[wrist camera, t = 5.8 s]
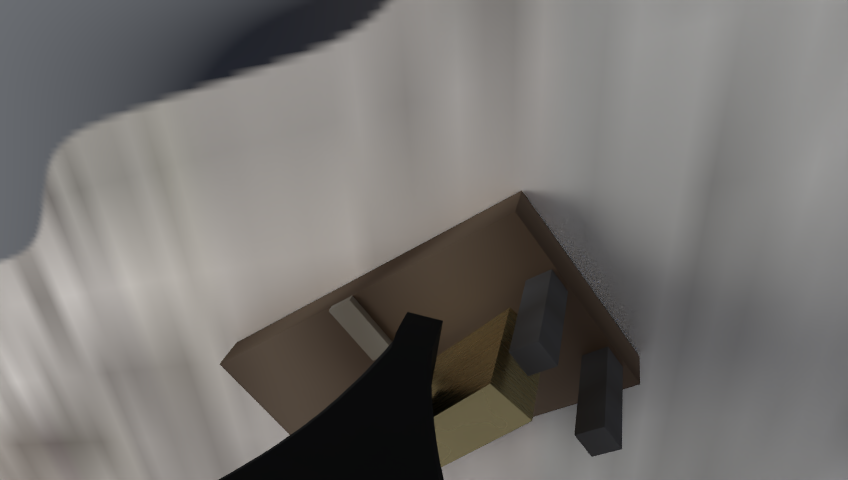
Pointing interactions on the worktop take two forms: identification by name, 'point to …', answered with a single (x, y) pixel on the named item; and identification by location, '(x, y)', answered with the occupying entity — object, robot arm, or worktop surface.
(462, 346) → the bar
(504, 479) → the worktop surface
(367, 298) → the plate
